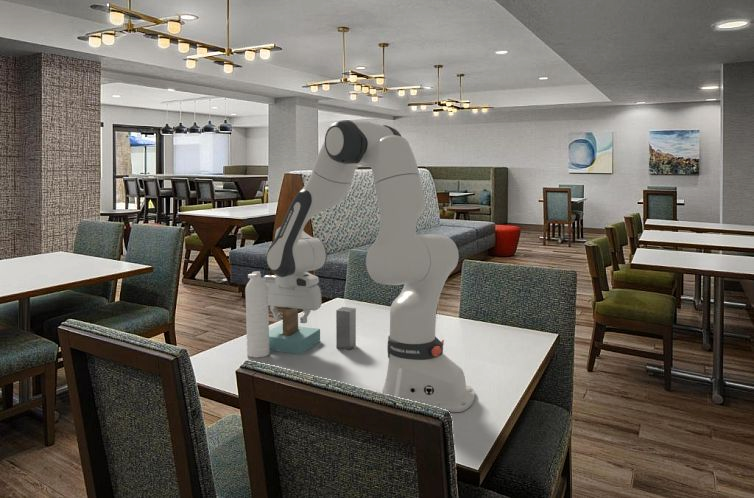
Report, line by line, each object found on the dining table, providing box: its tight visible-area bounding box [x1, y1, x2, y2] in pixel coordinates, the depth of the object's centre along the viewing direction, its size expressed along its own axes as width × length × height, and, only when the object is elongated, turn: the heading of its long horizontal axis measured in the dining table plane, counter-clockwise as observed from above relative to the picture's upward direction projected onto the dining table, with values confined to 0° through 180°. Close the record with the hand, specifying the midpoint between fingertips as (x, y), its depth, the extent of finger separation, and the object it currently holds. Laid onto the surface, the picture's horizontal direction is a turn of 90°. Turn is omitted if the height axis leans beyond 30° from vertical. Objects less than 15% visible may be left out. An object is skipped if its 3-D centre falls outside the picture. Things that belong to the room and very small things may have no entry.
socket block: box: [269, 323, 321, 355], centre depth 168 cm, size 14×13×4 cm
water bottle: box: [244, 270, 271, 359], centre depth 156 cm, size 9×6×25 cm
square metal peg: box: [335, 306, 357, 351], centre depth 166 cm, size 4×4×12 cm
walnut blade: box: [281, 307, 299, 336], centre depth 167 cm, size 2×6×12 cm, turn 159°
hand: (290, 321), depth 167 cm, fingers open, 8 cm apart
